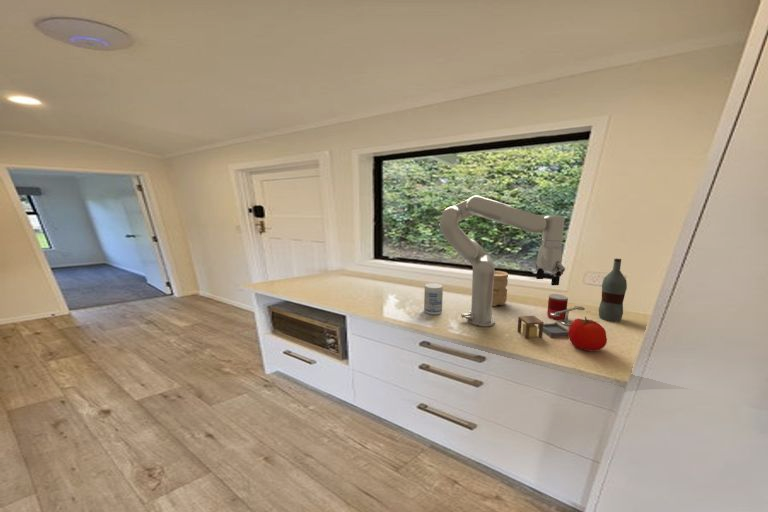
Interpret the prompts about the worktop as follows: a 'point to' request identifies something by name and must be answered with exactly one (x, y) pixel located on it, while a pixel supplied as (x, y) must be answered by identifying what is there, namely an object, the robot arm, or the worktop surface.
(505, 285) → the container
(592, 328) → the tomato
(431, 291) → the supplement tub
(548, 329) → the dish
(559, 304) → the canned food
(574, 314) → the worktop surface
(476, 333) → the worktop surface
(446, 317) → the worktop surface
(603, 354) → the worktop surface
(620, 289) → the bottle
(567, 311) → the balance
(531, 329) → the block
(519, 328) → the small wooden table
